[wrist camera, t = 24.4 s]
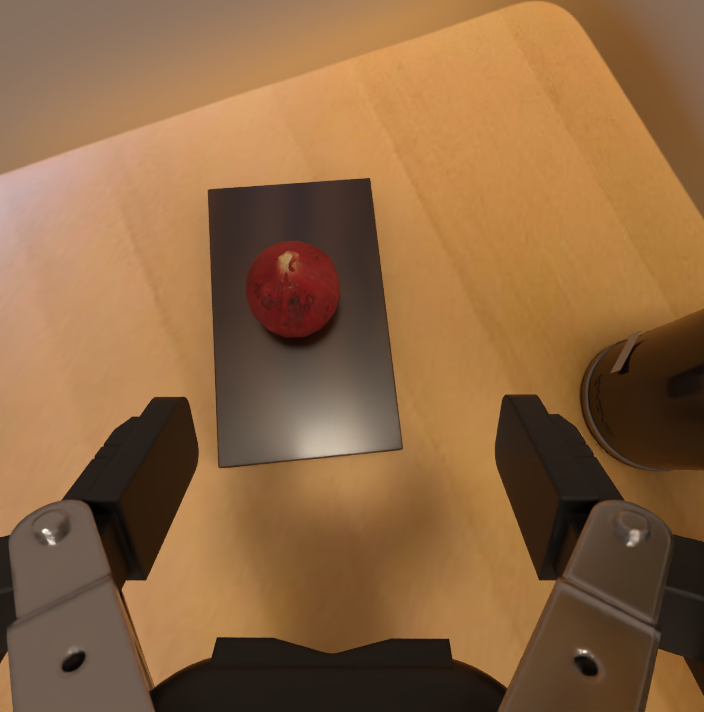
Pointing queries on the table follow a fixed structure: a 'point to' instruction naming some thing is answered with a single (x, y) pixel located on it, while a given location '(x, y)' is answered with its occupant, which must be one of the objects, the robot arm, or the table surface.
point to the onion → (292, 288)
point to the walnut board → (301, 354)
